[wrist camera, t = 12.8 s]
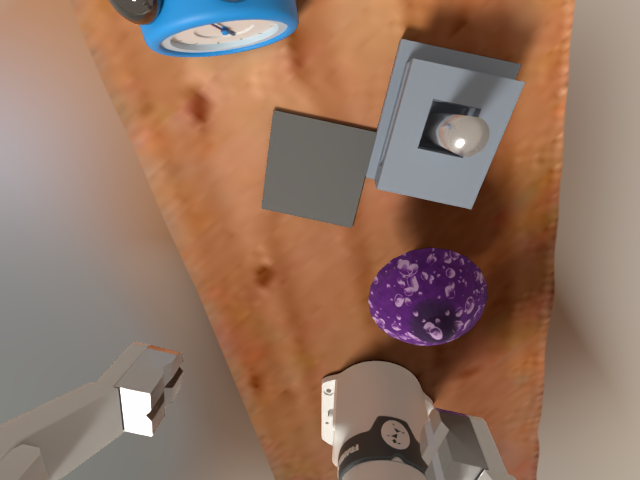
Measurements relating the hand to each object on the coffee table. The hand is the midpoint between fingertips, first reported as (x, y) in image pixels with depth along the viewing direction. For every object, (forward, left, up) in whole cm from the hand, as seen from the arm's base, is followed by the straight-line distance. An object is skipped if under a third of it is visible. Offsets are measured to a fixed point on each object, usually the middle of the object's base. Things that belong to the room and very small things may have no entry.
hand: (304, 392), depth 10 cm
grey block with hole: (+8, -9, -31) cm, 33 cm away
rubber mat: (0, +3, -31) cm, 31 cm away
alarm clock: (+14, +14, -31) cm, 37 cm away
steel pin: (+8, -9, -30) cm, 32 cm away
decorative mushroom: (-9, -12, -31) cm, 35 cm away
